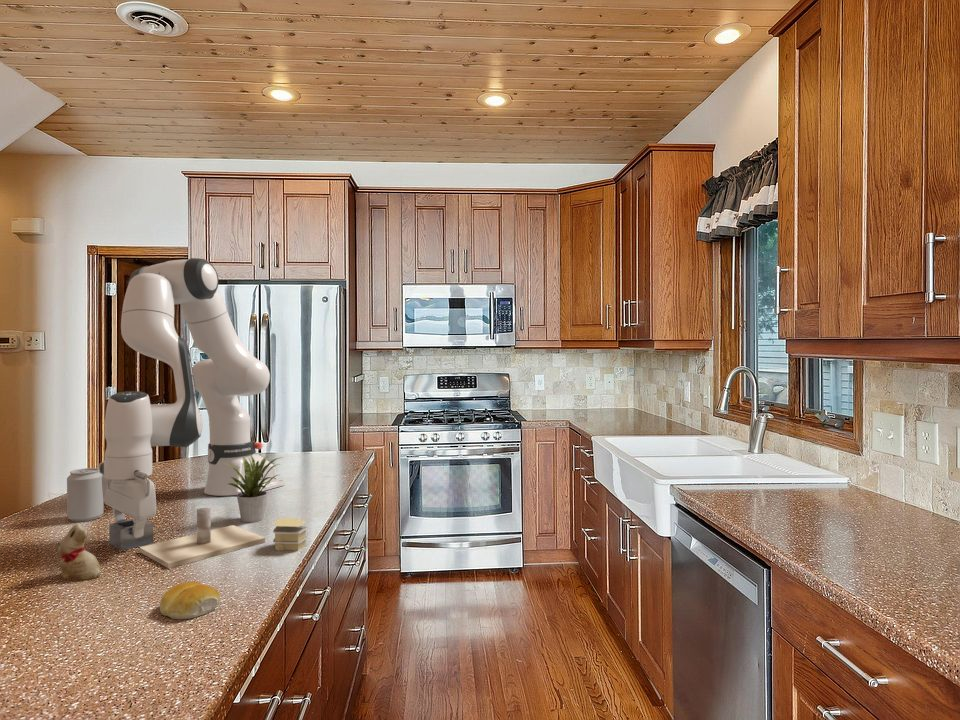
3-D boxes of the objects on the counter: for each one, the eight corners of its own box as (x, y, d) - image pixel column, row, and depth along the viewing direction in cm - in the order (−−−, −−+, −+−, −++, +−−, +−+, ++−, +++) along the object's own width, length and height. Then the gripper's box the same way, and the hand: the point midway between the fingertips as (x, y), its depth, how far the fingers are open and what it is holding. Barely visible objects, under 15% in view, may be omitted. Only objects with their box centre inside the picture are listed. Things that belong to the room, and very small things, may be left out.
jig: (232, 529, 137) (232, 495, 137) (265, 542, 128) (264, 505, 128) (139, 552, 122) (139, 513, 121) (168, 568, 113) (168, 527, 112)
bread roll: (196, 594, 102) (196, 571, 102) (228, 606, 97) (228, 582, 97) (147, 612, 95) (147, 587, 95) (179, 626, 90) (179, 600, 90)
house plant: (300, 515, 148) (300, 450, 148) (258, 531, 136) (258, 460, 135) (257, 508, 154) (257, 446, 154) (213, 523, 142) (213, 455, 141)
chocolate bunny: (89, 566, 114) (89, 514, 114) (104, 576, 109) (104, 522, 109) (55, 574, 110) (54, 521, 109) (69, 585, 105) (68, 529, 104)
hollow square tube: (141, 536, 131) (141, 517, 131) (153, 543, 127) (153, 522, 127) (109, 544, 126) (109, 523, 126) (120, 550, 122) (120, 529, 122)
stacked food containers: (320, 542, 129) (320, 517, 129) (300, 557, 120) (300, 530, 120) (278, 539, 131) (278, 515, 131) (256, 553, 122) (255, 527, 122)
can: (85, 523, 141) (85, 473, 141) (59, 521, 142) (58, 472, 142) (111, 514, 148) (110, 467, 148) (85, 513, 150) (85, 466, 150)
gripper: (164, 472, 122) (164, 538, 122) (127, 460, 135) (127, 520, 135) (131, 477, 117) (131, 546, 117) (96, 463, 130) (96, 526, 131)
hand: (129, 532), depth 127 cm, fingers open, 8 cm apart
